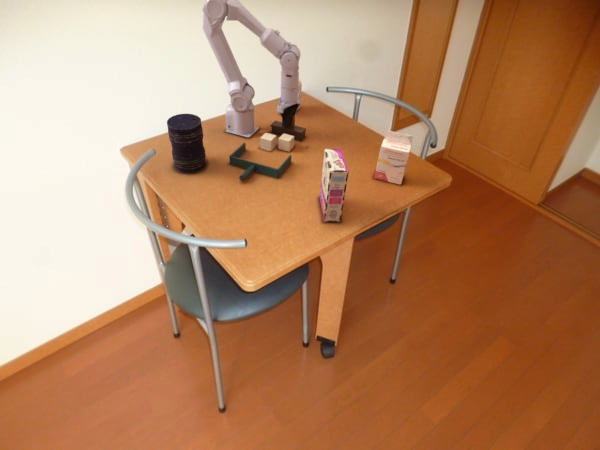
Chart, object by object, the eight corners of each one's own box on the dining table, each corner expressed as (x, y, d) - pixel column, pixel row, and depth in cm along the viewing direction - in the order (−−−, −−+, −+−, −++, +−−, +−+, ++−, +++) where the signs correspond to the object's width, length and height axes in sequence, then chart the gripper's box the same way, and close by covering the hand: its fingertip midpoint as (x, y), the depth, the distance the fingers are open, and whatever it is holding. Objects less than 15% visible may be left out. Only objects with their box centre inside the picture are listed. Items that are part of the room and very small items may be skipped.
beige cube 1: (260, 148, 140) (260, 137, 137) (265, 143, 143) (265, 132, 140) (270, 151, 139) (270, 140, 136) (276, 145, 142) (276, 135, 139)
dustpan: (217, 175, 127) (217, 167, 125) (244, 150, 138) (244, 142, 136) (267, 190, 122) (267, 182, 120) (291, 163, 134) (291, 155, 132)
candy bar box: (342, 222, 113) (349, 171, 102) (323, 222, 112) (329, 171, 102) (336, 197, 121) (342, 147, 110) (318, 197, 121) (323, 147, 110)
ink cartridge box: (373, 179, 129) (381, 136, 119) (376, 170, 133) (385, 129, 123) (401, 185, 127) (411, 142, 118) (403, 176, 131) (414, 134, 121)
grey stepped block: (270, 133, 148) (270, 112, 143) (274, 129, 150) (275, 108, 145) (301, 141, 144) (302, 120, 139) (305, 137, 147) (306, 116, 142)
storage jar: (179, 176, 125) (171, 132, 116) (170, 160, 132) (162, 117, 122) (211, 169, 129) (206, 125, 119) (201, 154, 136) (195, 111, 126)
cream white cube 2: (278, 149, 140) (278, 138, 137) (283, 143, 143) (283, 133, 140) (289, 151, 139) (289, 141, 136) (294, 146, 142) (294, 136, 139)
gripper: (291, 96, 129) (290, 135, 138) (309, 80, 140) (307, 118, 148) (271, 91, 131) (271, 130, 140) (290, 76, 141) (289, 113, 150)
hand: (288, 123), depth 144 cm, fingers closed on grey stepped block, 2 cm apart
